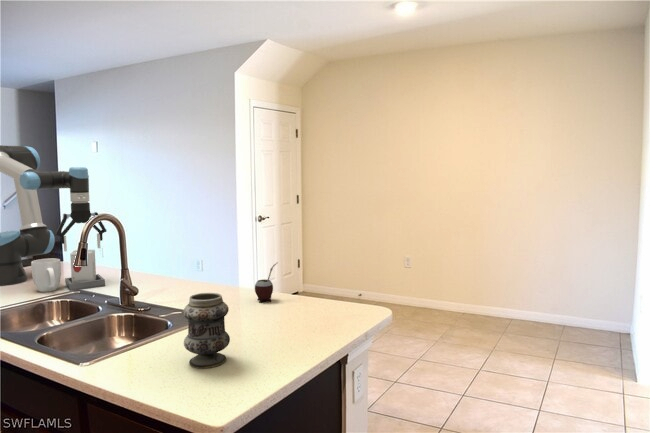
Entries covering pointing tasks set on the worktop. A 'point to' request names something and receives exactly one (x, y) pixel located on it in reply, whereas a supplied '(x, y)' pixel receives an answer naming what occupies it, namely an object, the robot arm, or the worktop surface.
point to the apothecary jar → (206, 329)
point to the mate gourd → (264, 289)
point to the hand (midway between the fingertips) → (82, 249)
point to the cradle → (85, 283)
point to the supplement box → (83, 268)
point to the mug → (46, 274)
